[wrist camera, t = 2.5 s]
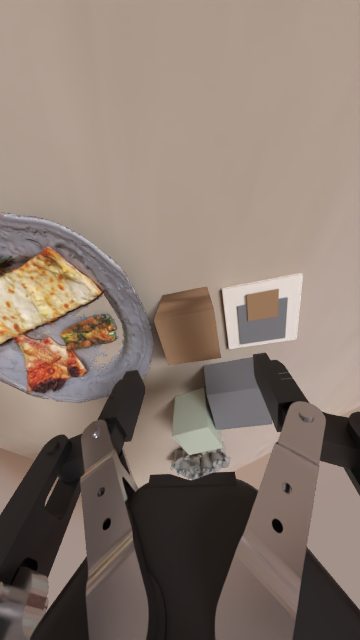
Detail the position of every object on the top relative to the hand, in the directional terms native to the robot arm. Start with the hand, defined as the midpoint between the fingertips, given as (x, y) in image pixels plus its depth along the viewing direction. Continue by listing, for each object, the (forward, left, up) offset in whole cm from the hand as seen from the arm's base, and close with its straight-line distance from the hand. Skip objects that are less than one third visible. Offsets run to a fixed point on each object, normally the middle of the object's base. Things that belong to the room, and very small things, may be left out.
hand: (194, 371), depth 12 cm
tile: (+8, -2, -10) cm, 12 cm away
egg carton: (-4, -30, -10) cm, 32 cm away
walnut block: (0, 0, -10) cm, 10 cm away
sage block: (-2, -16, -10) cm, 19 cm away
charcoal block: (+4, -12, -10) cm, 16 cm away
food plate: (-17, +1, -10) cm, 20 cm away
